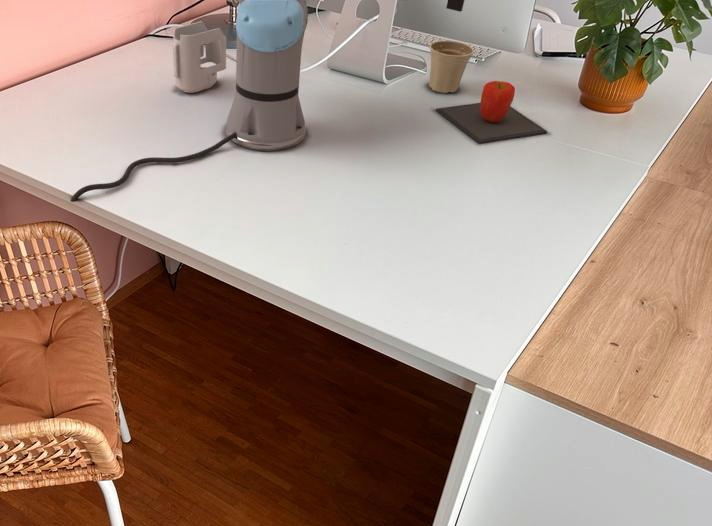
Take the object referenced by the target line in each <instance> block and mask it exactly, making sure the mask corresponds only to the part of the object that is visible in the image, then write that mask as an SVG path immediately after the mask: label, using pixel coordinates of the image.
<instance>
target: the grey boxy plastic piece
mask: <svg viewBox="0 0 712 526" xmlns="http://www.w3.org/2000/svg"><path fill="white" fill-rule="evenodd" d="M172 36H173V44H172V54H173V55H172V56H173V58H172V59H173V76H174V78H175V87H177V88H178V89H179V90H180V91H181V92H183V93H188V94H189V93H190V94H191V93H197V92H201V91H203V90H208V89H210V88H212V87H213V86H214V85H215V84H216V82H217V81H218V73H219V72H222V71H225V70H226V69H227V37H226V36H225V34H224V32H223V31H222V29H221V27H217V28H214V29H209V30H208V28H207V27H206V25H205V23H204V21H202V20H201V21H196V22H193V23H189V24H185V25H182V26H178V27H175V28H173V30H172ZM204 46H205V47H204ZM204 48H205V51H204ZM204 54H205V57H204ZM207 63H212V64H213V65H210V66H201V65H205V64H207Z"/></svg>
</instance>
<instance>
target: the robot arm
mask: <svg viewBox="0 0 712 526" xmlns="http://www.w3.org/2000/svg"><path fill="white" fill-rule="evenodd" d="M238 3H239V6H238V8H237V14H236V19H235V30H236V31H235V32H236V56H235V57H236V60H235V61H236V65H235V66H236V68H235V95H234V97H233V100H232V104H231V107H230V109H229V113H228V116H227V118H226V123H225V128H226V129H225V134H226V137H224V138H223V139H221V140H220V141H218V142H217V143H216V144H214V145H212V146H210V147H208V148H206V149H204V150H201V151H199V152H195V153H192V154H188V155H184V156H178V157H177V156H176V157H154V156H153V157H145V158H140V159H137V160H135V161H133V162H131V163H130V164H129V165H128V167H127V168H126V169H125V171H124V174H123V175H122V176H121V177H120V178H119V179H118V180H115V181H113V182H112V181H111V182H107V183H105V182H104V183H94V184H88V185H85V186H83V187H81V188H80V189H78V190H77V191H75V193H74V194H73V195H72V196H71V198H70V200H69V202H70V203H75V202H77V201H78V200H79V198H80V197H81V196H82V195H83V194H85V193H87V192H91V191H96V190H110V189H114V188H117V187H119V186H121V185H123V184H124V183H125V182H127V180H128V179H129V177H130V175H131V173H132V172H133V170H134V169H135V168H136V167H138V166H141V165H145V164H154V163H155V164H157V163H159V164H160V163H161V164H177V163H184V162H188V161H192V160H196V159H199V158H202V157H204V156H206V155H208V154H210V153H212V152H214V151H217V150H218V149H220V148H221V147H223V146H224V145H225V144H227V143H229V142H230V141H231V142H233V143H234V144H236V145H238V146H241V147H243V148H246V149H250V150H256V151H267V152H269V151H272V152H273V151H281V150H286V149H290V148H293V147H295V146H297V145H299V144H300V143H301V142H302V141H303V140H304V139H305V137H306V121H305V117H304V112H303V109H302V105H301V100H300V97H299V92H300V91H299V90H300V89H299V88H300V75H301V63H302V52H303V51H302V50H303V45H304V44H303V42H304V37H305V34H306V33H305V32H306V29H307V25H308V20H309V8H308V4H307V1H306V0H238ZM464 5H465V0H447V2H446V7H445V9H448V10H452V11H456V12H463V8H464Z"/></svg>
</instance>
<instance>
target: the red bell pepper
mask: <svg viewBox="0 0 712 526" xmlns="http://www.w3.org/2000/svg"><path fill="white" fill-rule="evenodd" d="M515 93H516V87H515V86H514V85H513V84H512V83H510V82H509V81H500V80H492V81H488V82H486V83H485V84H484V86H483V88H482V91H481V97H480V103H481V106H480V107H481V114H482V117H483V119H484V120H485V121H487V122H489V123H497V122H500V121H502V120H503V118H504V117H505V115H506V114H507V112H508V110H509V108H510V107H511V106H512V103H513V102H514V97H515Z"/></svg>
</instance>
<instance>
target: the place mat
mask: <svg viewBox="0 0 712 526" xmlns="http://www.w3.org/2000/svg"><path fill="white" fill-rule="evenodd" d="M480 106H481V102H477V103H468V104H463V105H462V104H461V105H456V106H455V105H454V106H448V107H447V106H446V107H440V108H435V112H437V113H438V114H439V115H441V116H442V117H443V118H445V119H446V120H447V121H449V123H451V124H452V125H453V126H455V127H456V128H458V129H459V130H460V131H461V132H463V133H464V134H465V135H467V136H468V137H469V138H470V139H472V140H473V141H474V142H476V143H477V144H478V145H481V144H487V143H493V142H499V141H507V140H512V139H519V138H526V137H533V136H538V135H547V134H548V131H547V130H546V129H544V128H543V127H542V126H540V125H538V124H537V123H535V122H534V121H532V120H531V119H529V118H528V117H527V116H525V115H524V114H522V113H521V112H519V110H516V109H515V108H513V107H511V106H510V108H509V110H508V112H507V114H506V115H505V117H504V118H503V120H502V121H500V122H497V123H489V122H487V121H485V120H484V119H483V117H482V114H481V107H480Z"/></svg>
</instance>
